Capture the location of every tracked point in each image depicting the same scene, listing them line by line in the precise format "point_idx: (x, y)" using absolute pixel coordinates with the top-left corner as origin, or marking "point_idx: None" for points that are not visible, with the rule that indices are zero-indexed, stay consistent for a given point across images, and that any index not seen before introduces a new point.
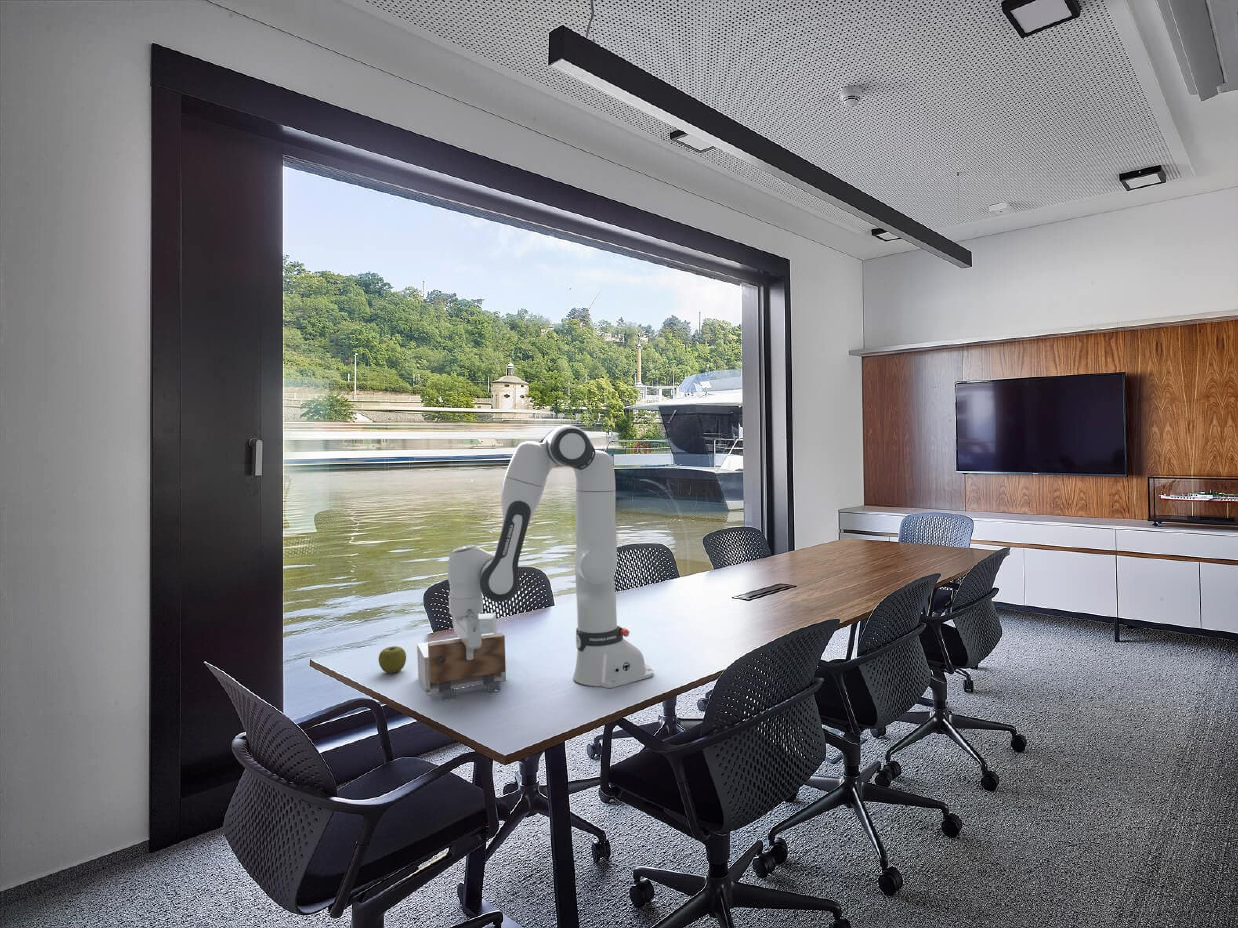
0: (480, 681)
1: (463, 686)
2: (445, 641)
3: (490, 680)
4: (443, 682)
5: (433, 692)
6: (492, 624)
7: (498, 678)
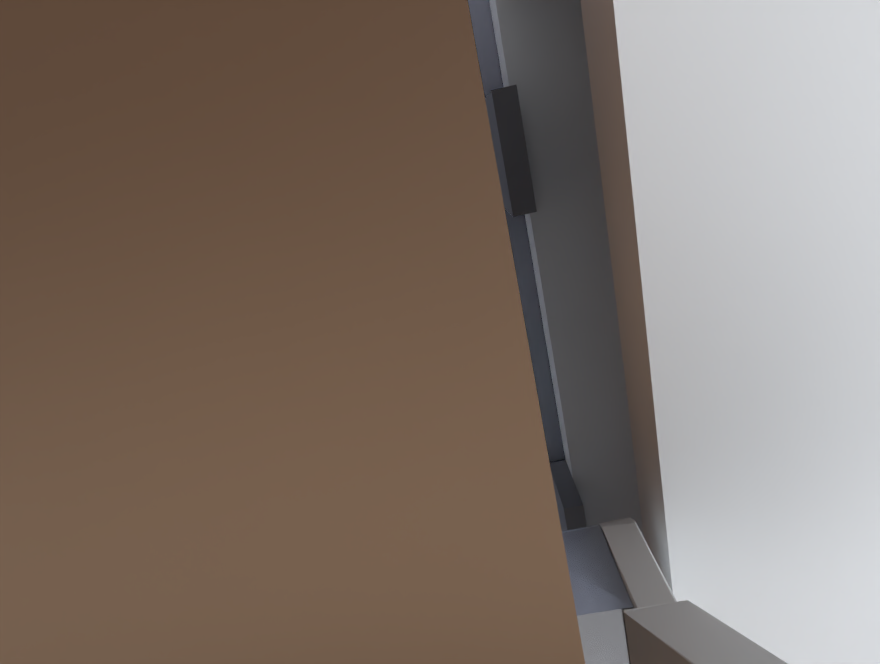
0: (568, 458)
1: (544, 319)
2: (287, 386)
3: (561, 527)
4: (514, 140)
5: (497, 35)
6: None
7: None
